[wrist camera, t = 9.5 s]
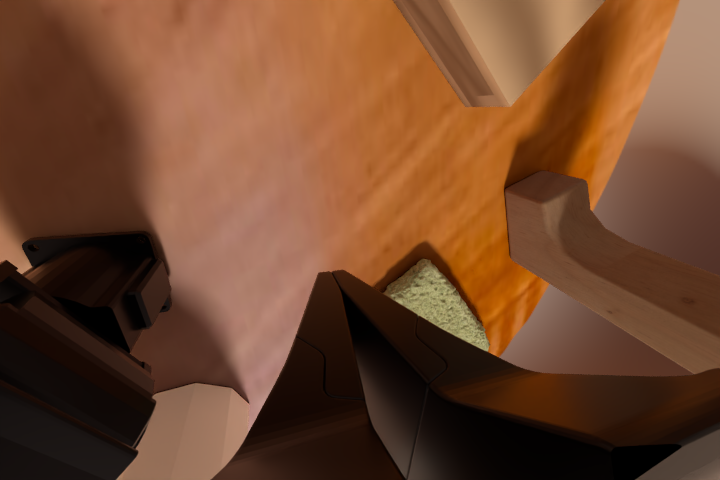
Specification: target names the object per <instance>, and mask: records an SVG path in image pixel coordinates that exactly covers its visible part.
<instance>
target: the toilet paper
mask: <svg viewBox="0 0 720 480" xmlns="http://www.w3.org/2000/svg"><path fill="white" fill-rule="evenodd" d="M152 398H153V399H155V400H156V407H155V410H154V412H153V414H152V417H151V419H150V421H149V423H148V426H147V429H146V431H145V434H144V435H143V437H142V439H141V441H140V443H139V444H138V446H137V447H136V450H138V455H137V457H136V458H135V459H134V460H133V462H132V463H131V464H130V465H129V466H128V467H127V468H126V469H125V470H124V471H123V473H122V474H121V475H120V476H119V477H118V478H117V479H116V480H211V479H212V478H213V477H214V476H215V475H216V474H217V473H218V472H219V471H221V470H222V469H223V468H224V467H225V466H226V465H227V463H228V462H229V461H230V460H231V459H232V457H233V456H234V455H235V453H236V452H237V451H238V449H239V448H240V446H241V445H242V443H243V441H244V440H245V438H246V436H247V434H248V420H249V405H250V404H248V403H247V402H246V401H245V400H244V399H243V398H242V397H241V396H240V395H239V394H238V393H237V392H235V391H234V390H233V389H232V388H228V387H221V386H214V385H207V384H200V383H194V384H190V385H186V386H183V387H179V388H175V389H171V390H168V391H164V392H160V393H156V394H155V395H154V396H153V397H152Z"/></svg>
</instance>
